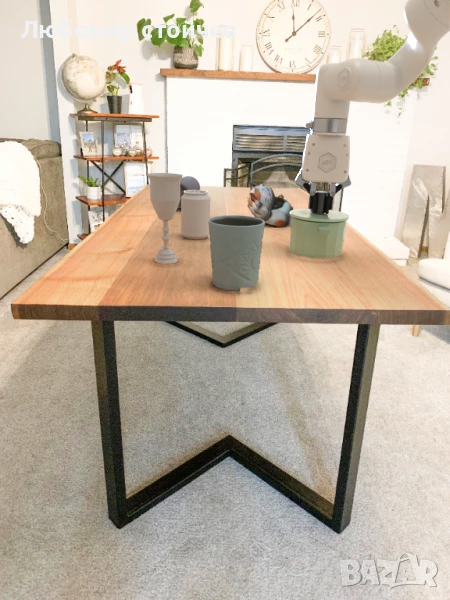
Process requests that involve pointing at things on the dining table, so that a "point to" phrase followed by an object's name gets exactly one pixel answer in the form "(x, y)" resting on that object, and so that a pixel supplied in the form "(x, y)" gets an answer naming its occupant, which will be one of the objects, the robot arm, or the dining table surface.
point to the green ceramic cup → (235, 250)
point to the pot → (316, 238)
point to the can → (195, 214)
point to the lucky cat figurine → (269, 206)
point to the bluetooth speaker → (188, 186)
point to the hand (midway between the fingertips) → (319, 212)
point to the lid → (319, 212)
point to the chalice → (165, 208)
